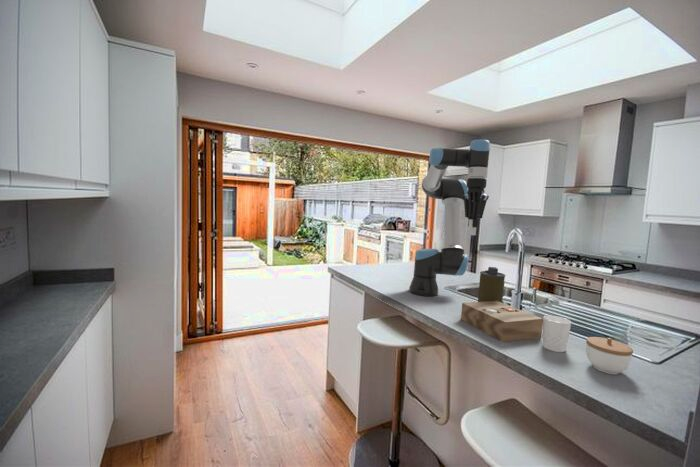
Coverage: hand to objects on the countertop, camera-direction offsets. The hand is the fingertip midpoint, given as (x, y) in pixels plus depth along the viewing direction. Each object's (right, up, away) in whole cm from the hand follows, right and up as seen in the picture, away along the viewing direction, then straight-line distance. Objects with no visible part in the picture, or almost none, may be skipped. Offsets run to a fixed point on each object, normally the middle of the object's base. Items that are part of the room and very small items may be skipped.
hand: (471, 235), depth 136 cm
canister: (+11, -35, +10) cm, 38 cm away
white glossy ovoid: (+2, -35, -13) cm, 37 cm away
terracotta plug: (+11, -35, -10) cm, 38 cm away
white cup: (+17, -38, -27) cm, 50 cm away
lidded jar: (+24, -40, -40) cm, 62 cm away
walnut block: (+6, -36, -11) cm, 38 cm away
